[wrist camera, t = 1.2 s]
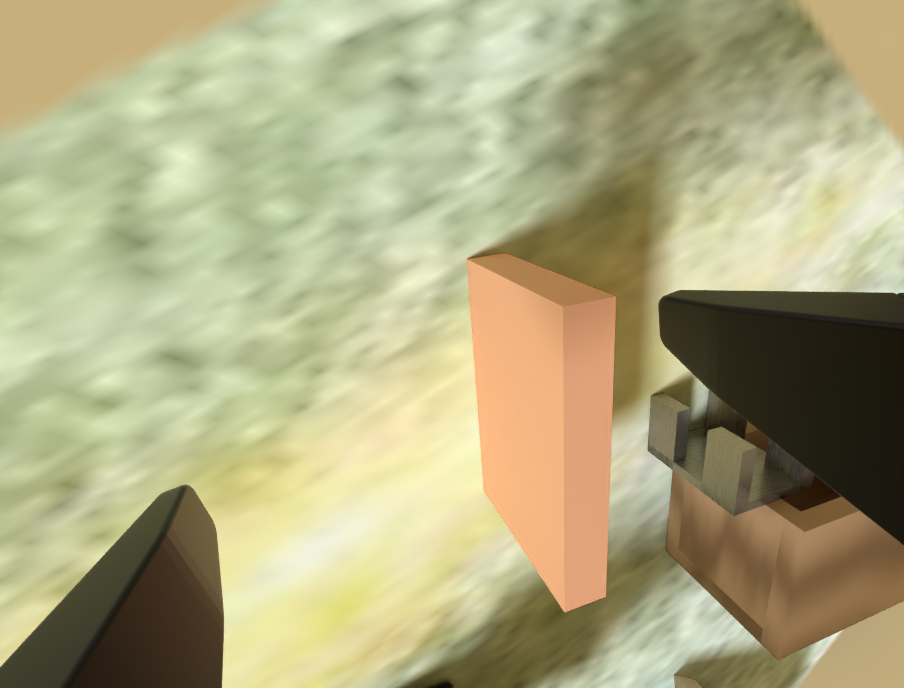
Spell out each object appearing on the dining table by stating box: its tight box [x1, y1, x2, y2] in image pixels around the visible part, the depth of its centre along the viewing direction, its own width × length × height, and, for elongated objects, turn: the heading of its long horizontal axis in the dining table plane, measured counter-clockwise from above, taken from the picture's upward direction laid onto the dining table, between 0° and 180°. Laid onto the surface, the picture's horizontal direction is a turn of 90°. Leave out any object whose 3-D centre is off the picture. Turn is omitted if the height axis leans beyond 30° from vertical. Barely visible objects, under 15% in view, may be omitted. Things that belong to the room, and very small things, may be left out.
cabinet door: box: [467, 253, 616, 612], centre depth 21 cm, size 12×2×8 cm, turn 5°
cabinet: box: [666, 421, 904, 660], centre depth 30 cm, size 8×14×8 cm, turn 95°
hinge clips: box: [648, 390, 814, 516], centre depth 27 cm, size 4×5×6 cm
